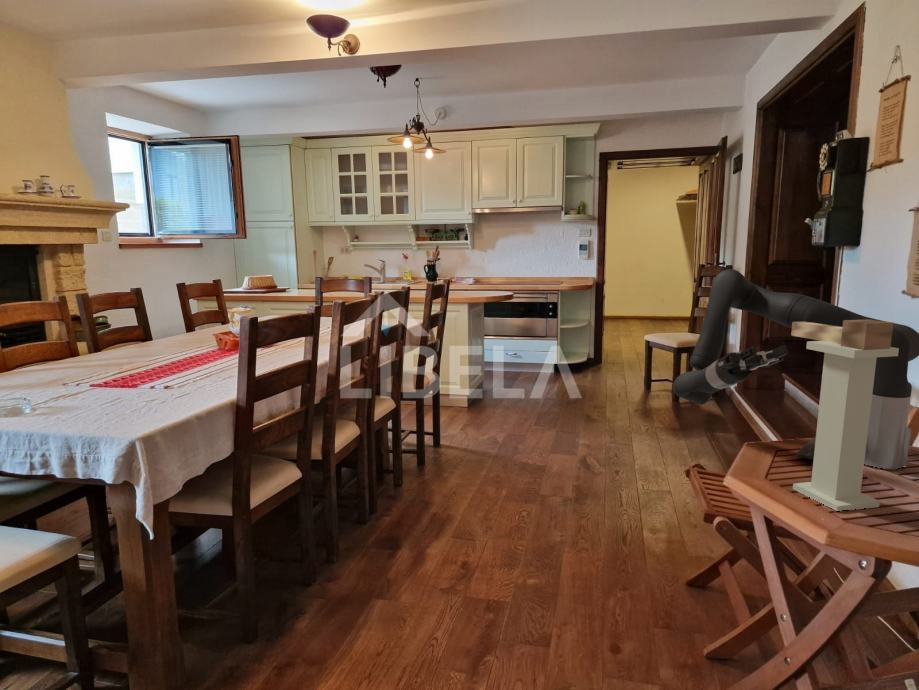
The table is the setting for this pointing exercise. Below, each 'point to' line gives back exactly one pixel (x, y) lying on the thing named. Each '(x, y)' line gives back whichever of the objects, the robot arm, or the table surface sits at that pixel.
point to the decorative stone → (807, 450)
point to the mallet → (848, 333)
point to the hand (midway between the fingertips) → (770, 349)
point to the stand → (842, 426)
